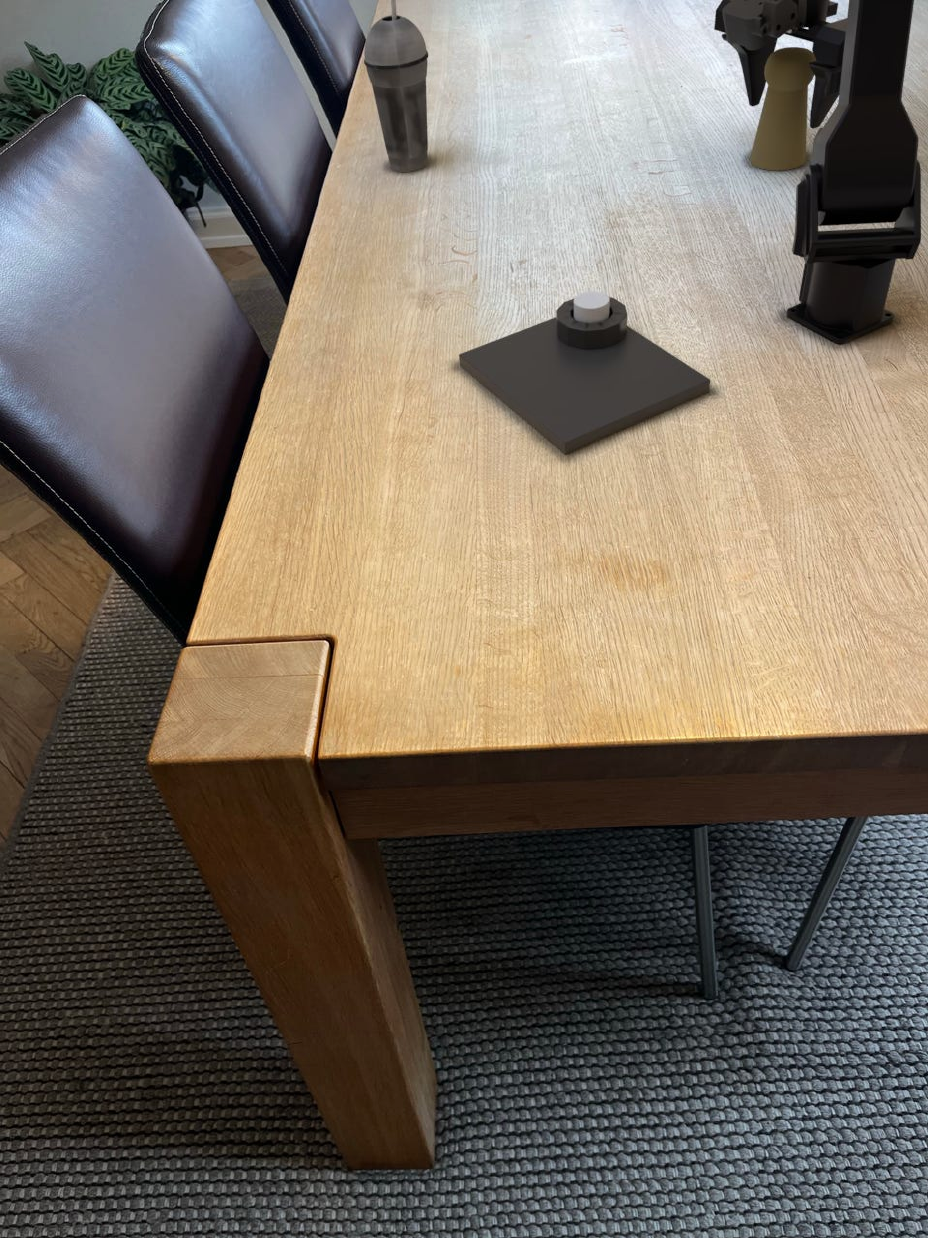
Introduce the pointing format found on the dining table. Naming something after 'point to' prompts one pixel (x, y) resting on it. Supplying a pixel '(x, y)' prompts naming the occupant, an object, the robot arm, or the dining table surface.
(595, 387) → the scale
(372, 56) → the beverage cup
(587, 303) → the button
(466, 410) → the dining table surface
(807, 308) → the robot arm
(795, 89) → the tan pawn
